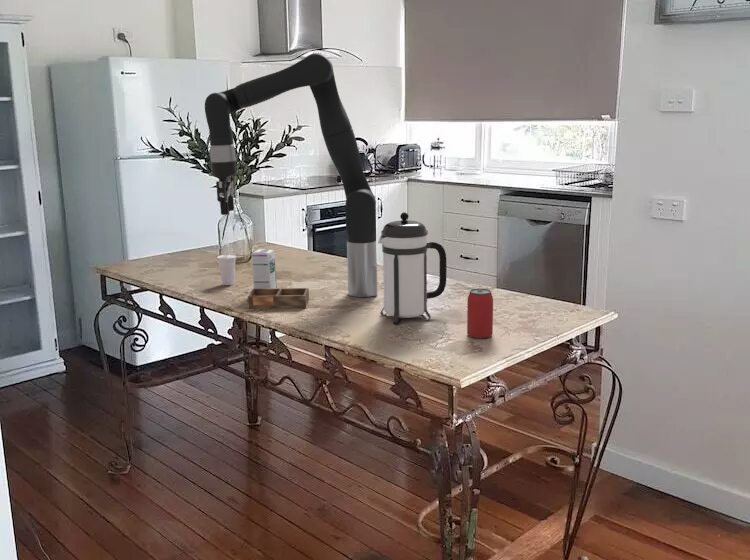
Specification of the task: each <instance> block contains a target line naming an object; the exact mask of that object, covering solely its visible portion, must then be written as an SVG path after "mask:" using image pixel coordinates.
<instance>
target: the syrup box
mask: <svg viewBox="0 0 750 560" xmlns="http://www.w3.org/2000/svg"><path fill="white" fill-rule="evenodd" d="M275 256H276V255H275V249H268V248H262V249H261V248H260V249H259V248H258V249H257V250H256V251H253V252H252V253H251V267H252V268H251V270H252V279H253V280H252V281H253V282H252V283H253V289H269V288H277V287H278V286H277V274H276V273H277V272H276V258H275Z"/></svg>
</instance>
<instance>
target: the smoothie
mask: <svg viewBox="0 0 750 560" xmlns="http://www.w3.org/2000/svg"><path fill="white" fill-rule="evenodd" d="M227 249H228V248H227V243H224V254H221V255H218V256H217V257H216V260H217V261H218V267H219V272H220V276H221V277H220V278H221V283H222V285H223V286H224V285H231V286H233V284H235V273H236V271H235V269H236V260H237V255H235V254H227V253H228V250H227Z"/></svg>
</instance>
